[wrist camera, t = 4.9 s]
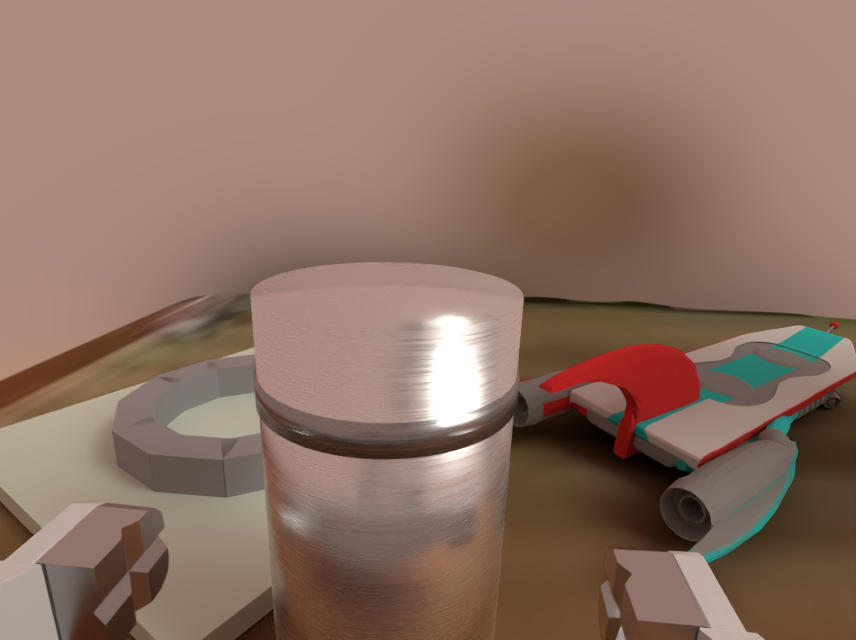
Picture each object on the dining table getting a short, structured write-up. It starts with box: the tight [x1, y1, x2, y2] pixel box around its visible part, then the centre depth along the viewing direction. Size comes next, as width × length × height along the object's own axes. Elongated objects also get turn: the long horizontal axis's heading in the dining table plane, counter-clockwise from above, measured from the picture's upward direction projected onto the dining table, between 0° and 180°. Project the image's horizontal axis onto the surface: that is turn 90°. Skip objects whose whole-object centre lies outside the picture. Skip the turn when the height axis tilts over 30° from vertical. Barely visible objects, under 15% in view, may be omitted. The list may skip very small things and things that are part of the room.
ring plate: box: [0, 348, 273, 640], centre depth 23 cm, size 16×16×2 cm
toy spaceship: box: [513, 322, 856, 563], centre depth 27 cm, size 27×11×5 cm, turn 130°
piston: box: [250, 262, 523, 640], centre depth 11 cm, size 5×5×10 cm
